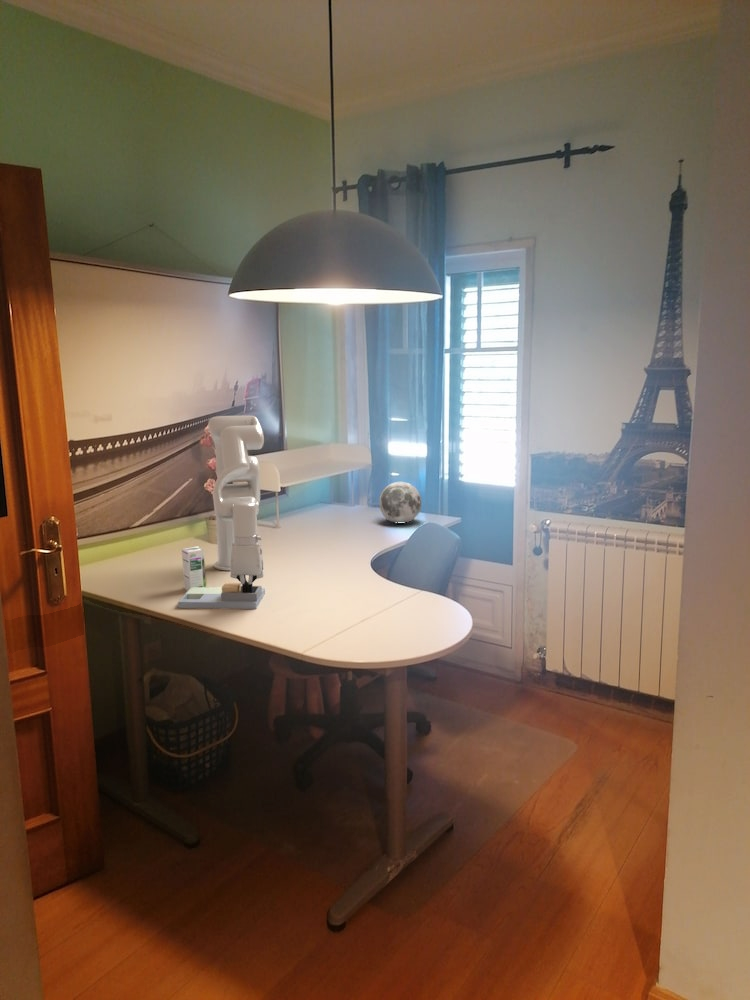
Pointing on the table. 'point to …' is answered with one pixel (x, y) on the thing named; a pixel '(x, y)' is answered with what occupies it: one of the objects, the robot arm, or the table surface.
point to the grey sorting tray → (221, 598)
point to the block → (231, 588)
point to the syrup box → (193, 567)
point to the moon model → (400, 502)
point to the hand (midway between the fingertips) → (247, 594)
